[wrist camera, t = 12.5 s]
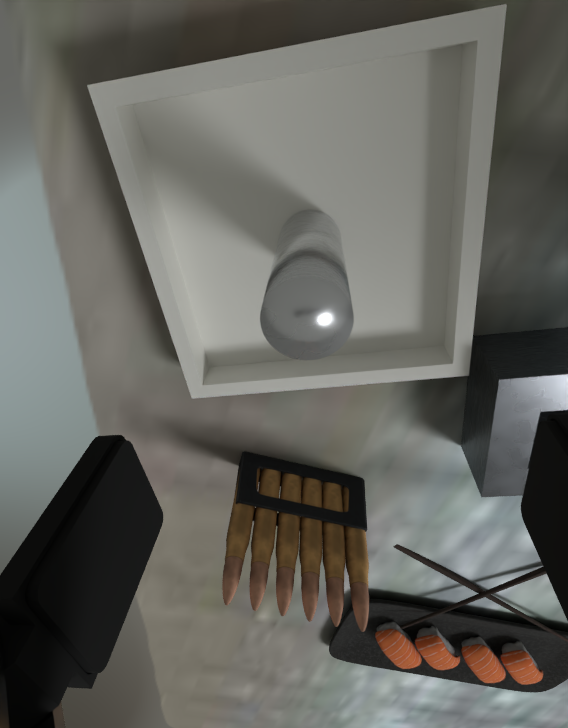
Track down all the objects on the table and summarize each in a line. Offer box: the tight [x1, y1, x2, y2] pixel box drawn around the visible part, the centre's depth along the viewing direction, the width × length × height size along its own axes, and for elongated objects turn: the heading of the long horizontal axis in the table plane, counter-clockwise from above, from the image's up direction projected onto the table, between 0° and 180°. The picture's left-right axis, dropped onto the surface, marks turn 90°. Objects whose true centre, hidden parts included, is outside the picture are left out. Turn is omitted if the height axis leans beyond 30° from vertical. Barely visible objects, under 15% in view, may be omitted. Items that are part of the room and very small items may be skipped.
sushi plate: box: [329, 545, 568, 692], centre depth 45 cm, size 29×30×4 cm
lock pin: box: [260, 210, 354, 360], centre depth 20 cm, size 4×4×10 cm
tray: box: [87, 4, 507, 399], centre depth 24 cm, size 18×18×3 cm
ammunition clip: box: [223, 452, 369, 632], centre depth 31 cm, size 11×2×12 cm, turn 76°
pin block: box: [461, 328, 568, 497], centre depth 28 cm, size 10×10×5 cm
